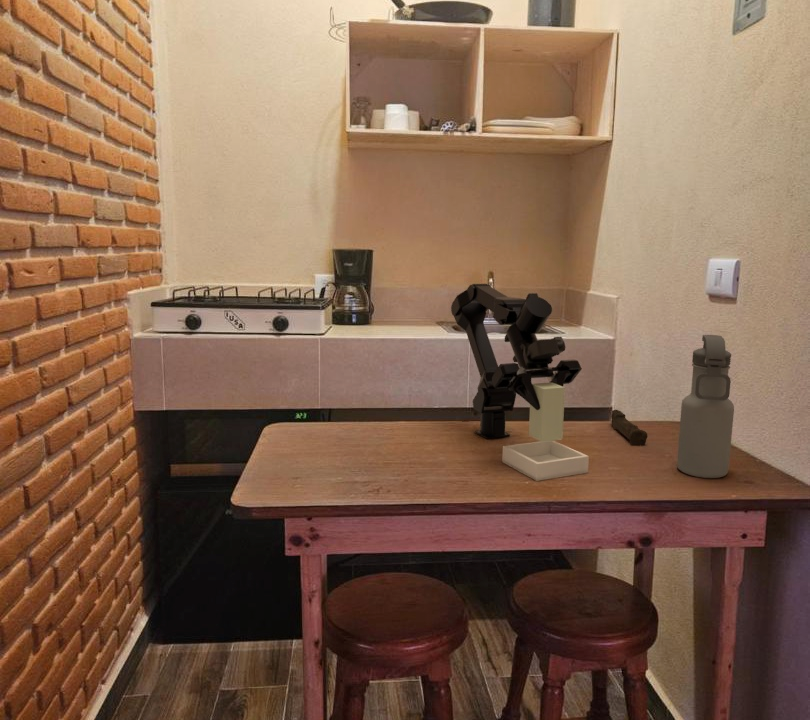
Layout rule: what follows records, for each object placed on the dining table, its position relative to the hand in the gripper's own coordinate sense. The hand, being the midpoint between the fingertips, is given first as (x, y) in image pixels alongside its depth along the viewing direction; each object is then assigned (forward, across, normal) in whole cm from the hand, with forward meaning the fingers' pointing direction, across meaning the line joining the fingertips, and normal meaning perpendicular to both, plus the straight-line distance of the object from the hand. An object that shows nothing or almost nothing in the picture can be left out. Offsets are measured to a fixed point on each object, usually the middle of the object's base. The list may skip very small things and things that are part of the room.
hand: (550, 408), depth 136 cm
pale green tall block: (+4, 0, +6) cm, 7 cm away
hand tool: (-2, +31, +22) cm, 38 cm away
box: (+8, 0, +10) cm, 13 cm away
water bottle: (+17, +30, +1) cm, 34 cm away
